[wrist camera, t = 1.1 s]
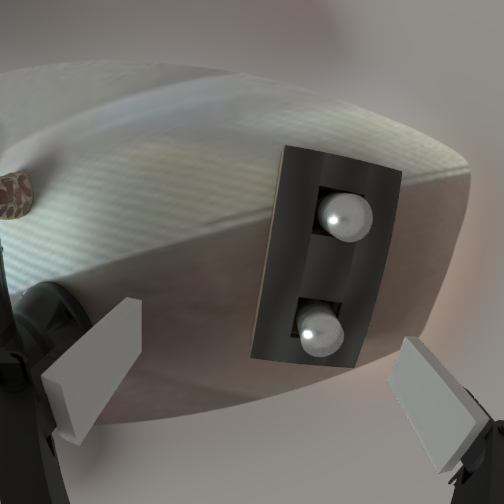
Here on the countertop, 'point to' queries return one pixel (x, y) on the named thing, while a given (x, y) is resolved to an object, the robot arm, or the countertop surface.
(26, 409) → the robot arm
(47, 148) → the countertop surface
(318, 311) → the steel peg
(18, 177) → the figurine
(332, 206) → the steel peg
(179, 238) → the countertop surface
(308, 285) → the block
